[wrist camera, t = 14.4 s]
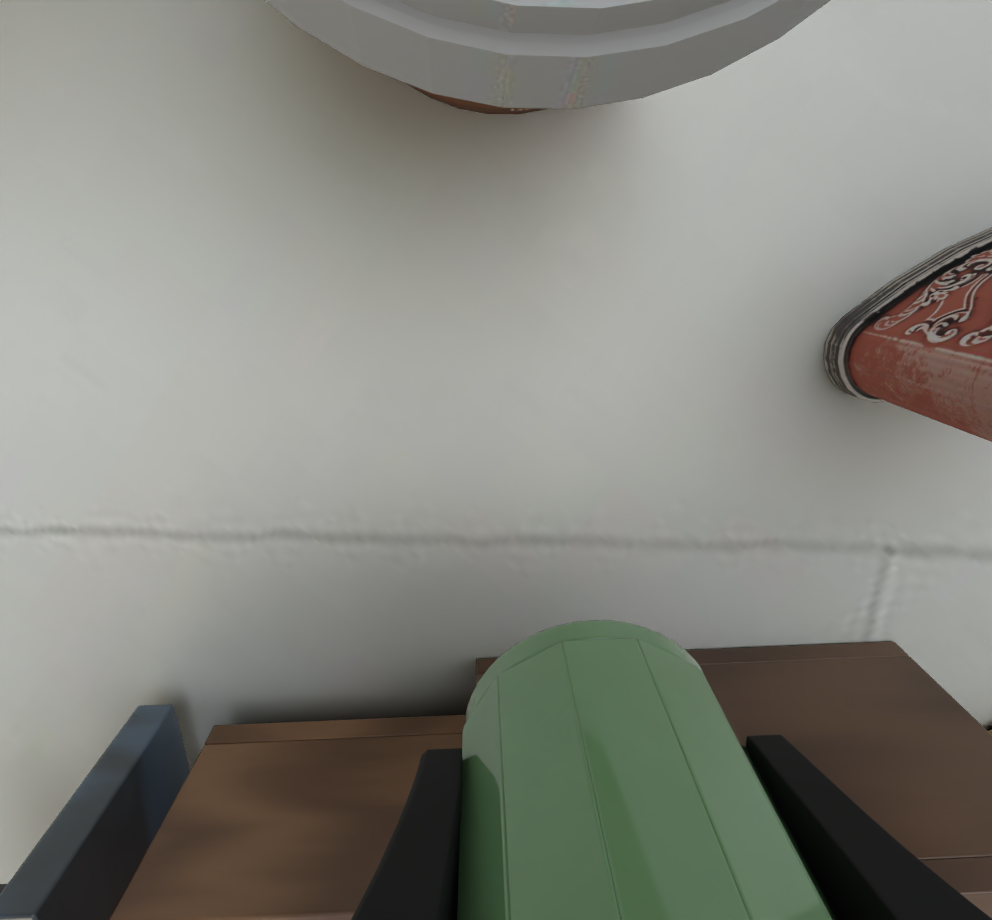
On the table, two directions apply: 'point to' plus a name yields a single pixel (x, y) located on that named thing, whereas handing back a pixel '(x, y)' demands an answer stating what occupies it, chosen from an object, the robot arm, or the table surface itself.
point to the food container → (544, 45)
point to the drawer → (228, 821)
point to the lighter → (925, 340)
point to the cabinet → (872, 743)
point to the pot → (617, 791)
